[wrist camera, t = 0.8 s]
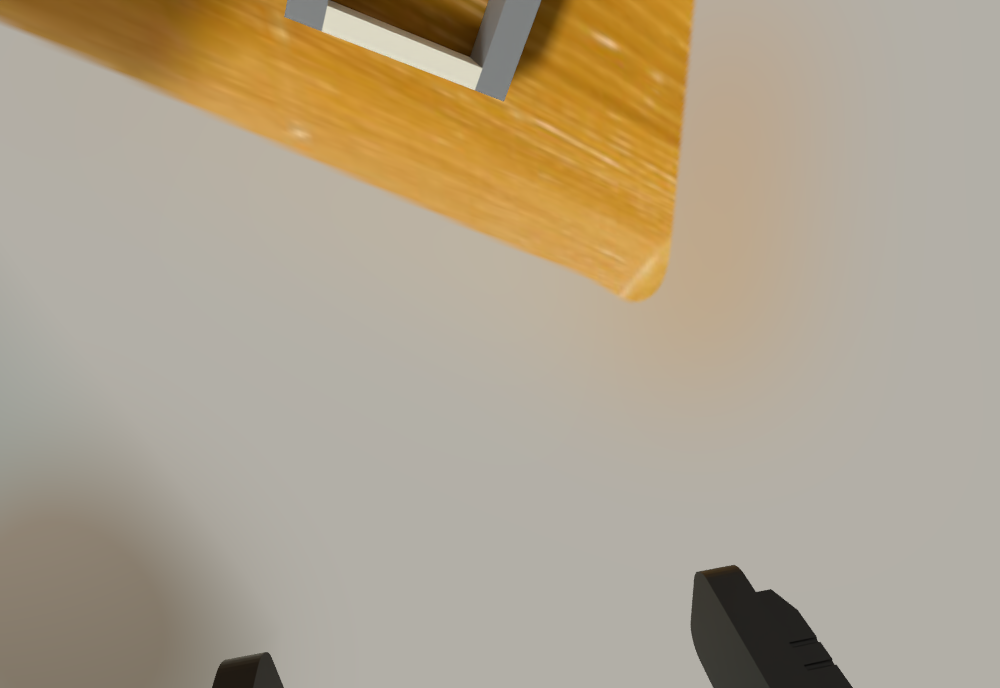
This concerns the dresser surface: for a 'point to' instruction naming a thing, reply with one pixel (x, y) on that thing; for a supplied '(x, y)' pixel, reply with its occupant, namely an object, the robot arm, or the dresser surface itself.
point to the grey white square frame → (481, 71)
